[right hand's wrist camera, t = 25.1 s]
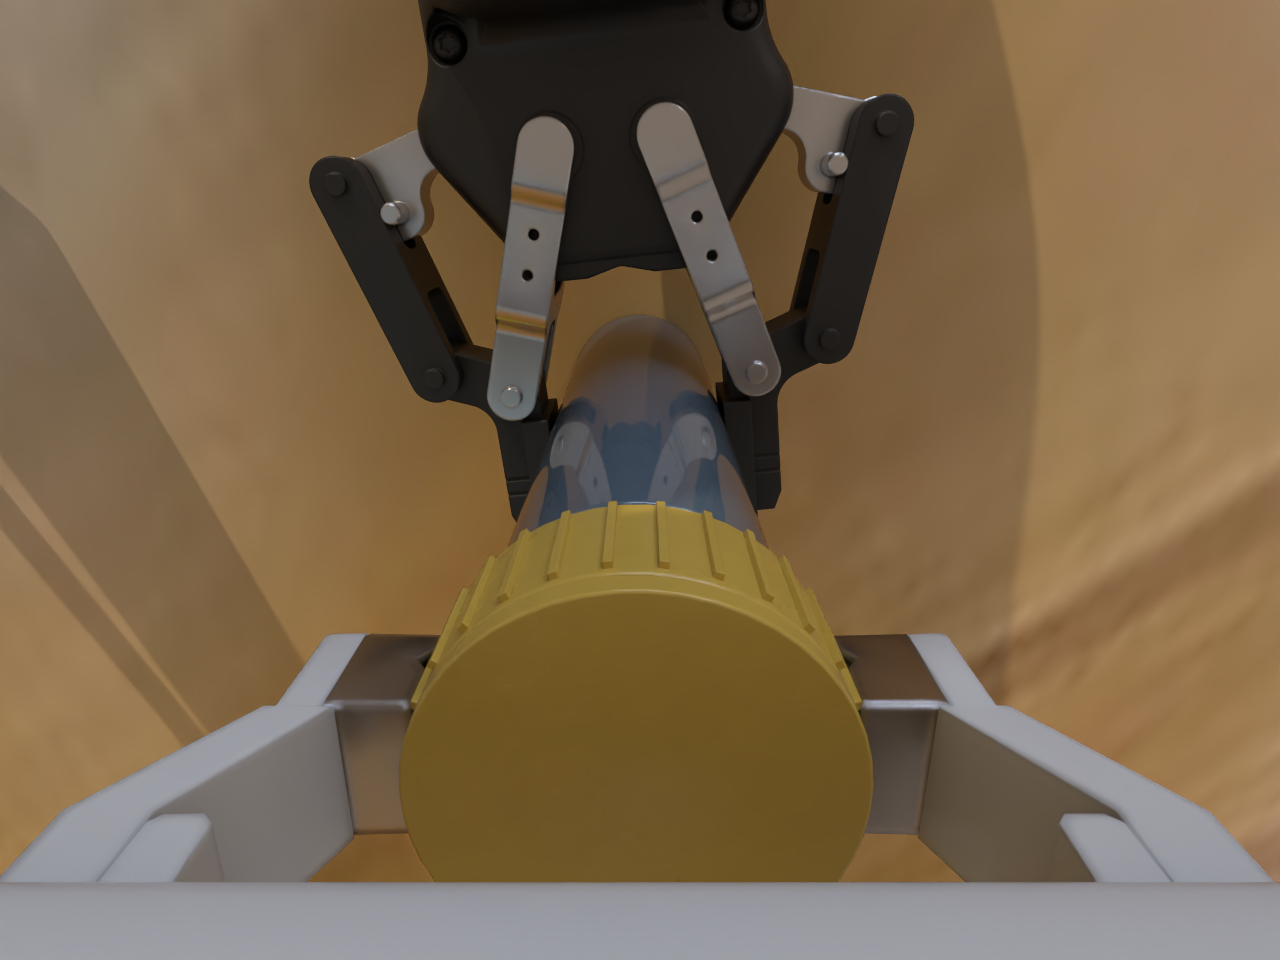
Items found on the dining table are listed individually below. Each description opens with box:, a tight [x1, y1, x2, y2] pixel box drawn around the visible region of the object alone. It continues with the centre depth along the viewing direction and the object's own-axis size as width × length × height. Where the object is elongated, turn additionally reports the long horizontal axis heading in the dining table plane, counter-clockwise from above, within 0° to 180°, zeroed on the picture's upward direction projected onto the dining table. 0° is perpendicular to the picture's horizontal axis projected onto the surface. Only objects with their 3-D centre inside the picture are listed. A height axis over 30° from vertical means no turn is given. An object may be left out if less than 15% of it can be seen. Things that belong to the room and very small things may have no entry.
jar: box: [507, 315, 769, 549], centre depth 18 cm, size 4×4×19 cm
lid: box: [399, 501, 874, 882], centre depth 9 cm, size 5×5×2 cm
